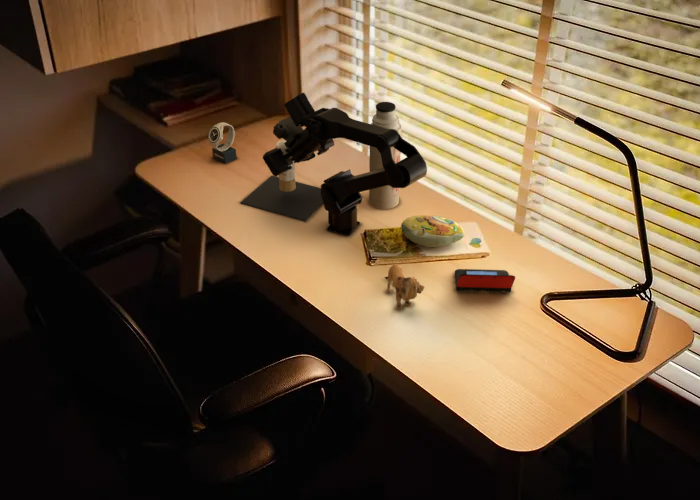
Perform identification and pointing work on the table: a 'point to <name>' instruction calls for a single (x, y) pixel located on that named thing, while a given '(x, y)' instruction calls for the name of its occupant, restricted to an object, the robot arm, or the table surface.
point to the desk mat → (286, 199)
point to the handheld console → (483, 280)
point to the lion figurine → (403, 286)
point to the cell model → (431, 230)
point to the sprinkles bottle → (289, 176)
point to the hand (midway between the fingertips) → (282, 165)
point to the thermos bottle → (386, 194)
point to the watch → (224, 150)
